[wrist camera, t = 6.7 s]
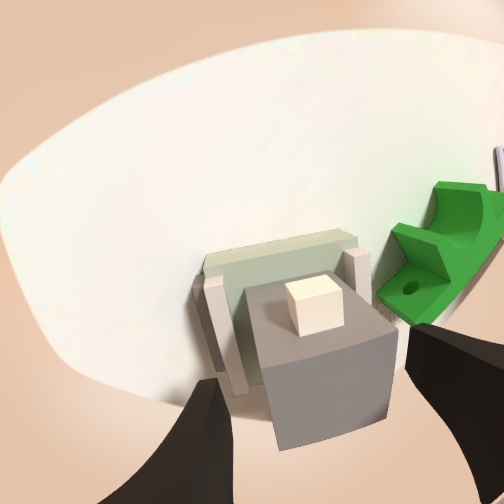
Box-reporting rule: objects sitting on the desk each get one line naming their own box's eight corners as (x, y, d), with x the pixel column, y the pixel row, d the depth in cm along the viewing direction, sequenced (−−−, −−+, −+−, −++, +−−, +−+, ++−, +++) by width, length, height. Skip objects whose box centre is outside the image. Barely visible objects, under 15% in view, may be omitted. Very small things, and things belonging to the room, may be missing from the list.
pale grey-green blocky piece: (337, 228, 15) (369, 242, 11) (345, 337, 17) (369, 369, 13) (191, 257, 15) (181, 280, 11) (220, 365, 16) (220, 405, 13)
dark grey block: (326, 244, 12) (400, 291, 7) (334, 340, 14) (385, 418, 8) (239, 262, 12) (252, 329, 6) (259, 358, 14) (279, 451, 8)
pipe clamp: (456, 158, 15) (504, 157, 10) (475, 200, 16) (519, 207, 11) (354, 262, 16) (396, 288, 11) (381, 303, 17) (422, 335, 12)
